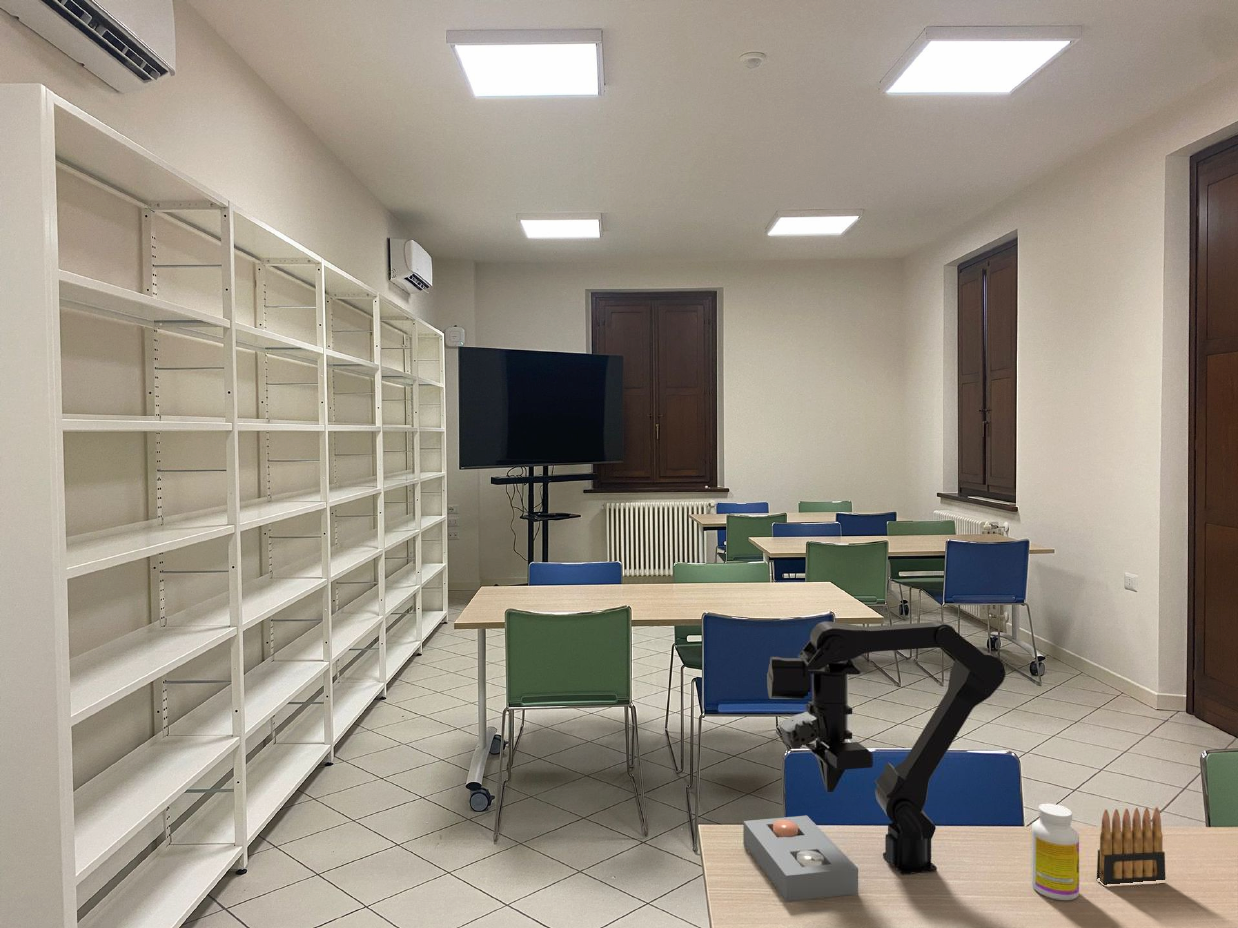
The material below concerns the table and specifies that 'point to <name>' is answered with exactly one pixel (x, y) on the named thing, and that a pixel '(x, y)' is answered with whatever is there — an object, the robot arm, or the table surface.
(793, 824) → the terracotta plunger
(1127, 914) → the table surface
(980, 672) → the robot arm
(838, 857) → the panel
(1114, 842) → the ammunition clip
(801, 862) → the steel plunger
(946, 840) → the table surface
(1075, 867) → the supplement bottle
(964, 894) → the table surface
